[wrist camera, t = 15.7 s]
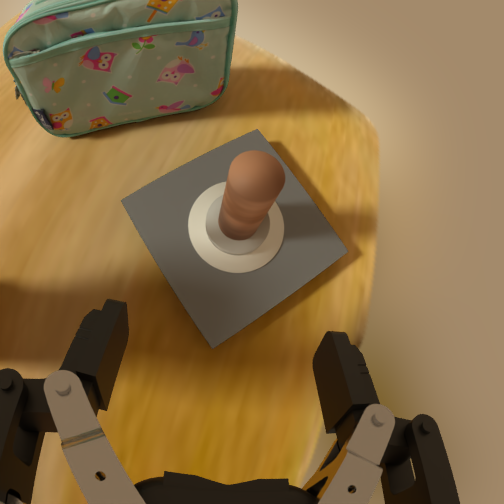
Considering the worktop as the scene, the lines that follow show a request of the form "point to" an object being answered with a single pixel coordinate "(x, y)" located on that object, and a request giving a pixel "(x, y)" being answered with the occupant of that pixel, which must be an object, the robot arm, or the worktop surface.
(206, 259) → the plate
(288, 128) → the worktop surface
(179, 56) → the lunch box
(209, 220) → the handle
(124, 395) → the worktop surface
